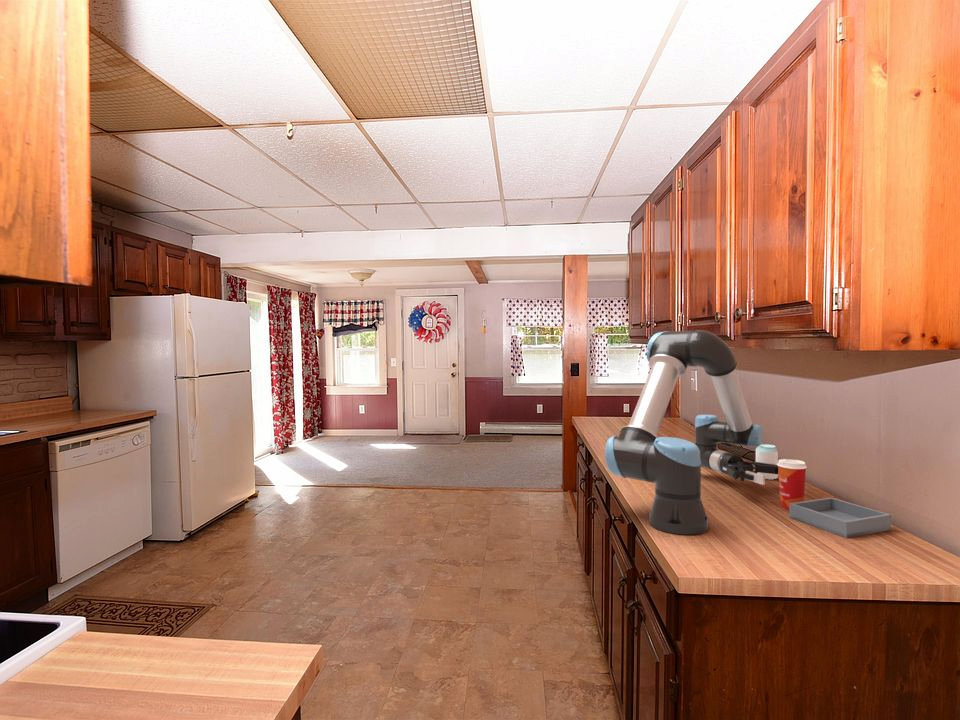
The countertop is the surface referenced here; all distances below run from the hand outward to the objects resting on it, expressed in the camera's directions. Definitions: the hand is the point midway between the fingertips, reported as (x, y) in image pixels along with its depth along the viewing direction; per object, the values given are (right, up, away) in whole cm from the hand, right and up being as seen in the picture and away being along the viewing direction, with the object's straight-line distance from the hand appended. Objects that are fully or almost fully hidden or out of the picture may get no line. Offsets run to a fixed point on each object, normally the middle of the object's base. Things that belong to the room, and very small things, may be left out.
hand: (781, 478), depth 151 cm
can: (+12, -7, +29) cm, 32 cm away
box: (+5, -8, -17) cm, 20 cm away
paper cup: (+1, -8, -4) cm, 9 cm away
